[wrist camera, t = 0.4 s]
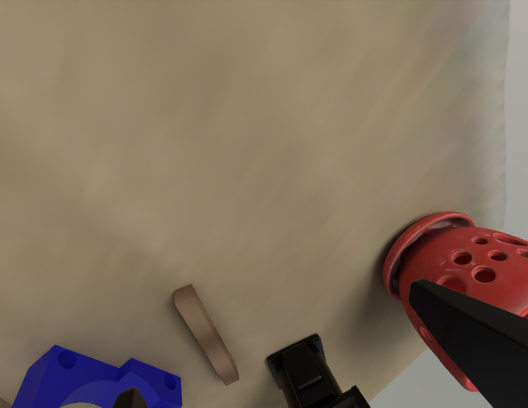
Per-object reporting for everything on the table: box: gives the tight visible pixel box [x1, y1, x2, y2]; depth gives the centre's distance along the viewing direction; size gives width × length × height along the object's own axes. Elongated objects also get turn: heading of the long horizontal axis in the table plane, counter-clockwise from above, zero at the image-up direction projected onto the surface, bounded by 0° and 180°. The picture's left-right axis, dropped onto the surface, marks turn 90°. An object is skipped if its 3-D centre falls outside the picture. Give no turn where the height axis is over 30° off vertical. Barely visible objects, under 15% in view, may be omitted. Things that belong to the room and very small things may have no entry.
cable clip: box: [12, 345, 182, 408], centre depth 23 cm, size 12×4×6 cm, turn 38°
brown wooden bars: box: [0, 284, 239, 408], centre depth 25 cm, size 13×19×2 cm
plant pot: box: [383, 212, 528, 392], centre depth 27 cm, size 13×13×12 cm
